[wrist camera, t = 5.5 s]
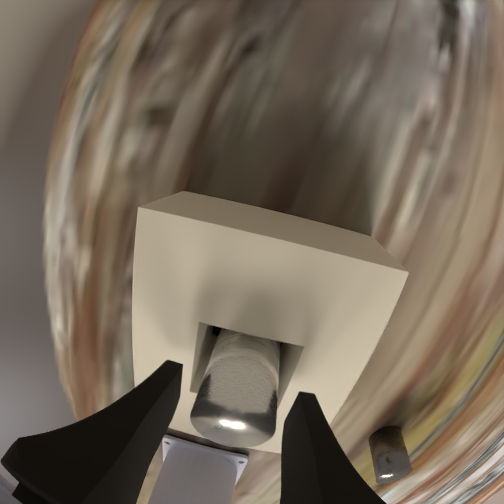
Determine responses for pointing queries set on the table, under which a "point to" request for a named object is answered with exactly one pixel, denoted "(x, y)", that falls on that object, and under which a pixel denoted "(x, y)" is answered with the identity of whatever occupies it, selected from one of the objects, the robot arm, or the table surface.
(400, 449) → the short pin
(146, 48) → the table surface
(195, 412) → the long pin
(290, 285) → the hole block
